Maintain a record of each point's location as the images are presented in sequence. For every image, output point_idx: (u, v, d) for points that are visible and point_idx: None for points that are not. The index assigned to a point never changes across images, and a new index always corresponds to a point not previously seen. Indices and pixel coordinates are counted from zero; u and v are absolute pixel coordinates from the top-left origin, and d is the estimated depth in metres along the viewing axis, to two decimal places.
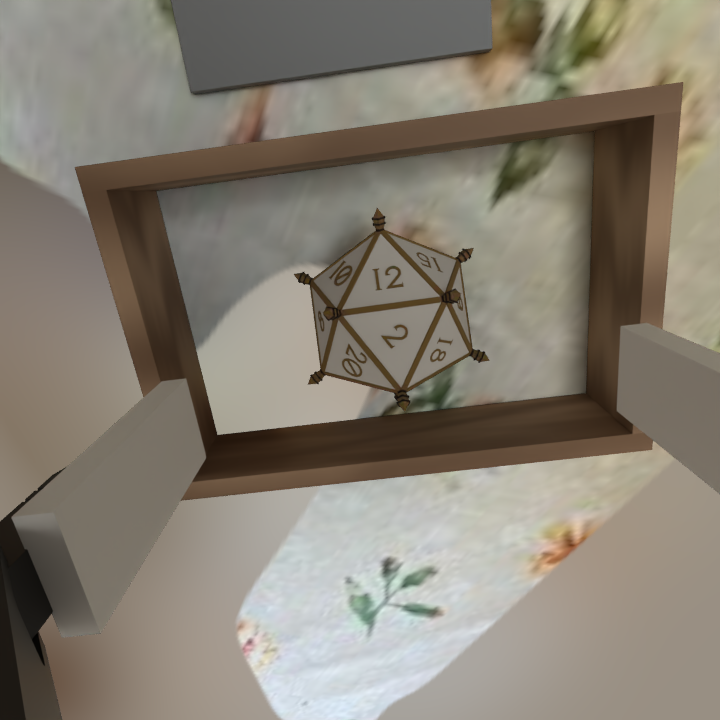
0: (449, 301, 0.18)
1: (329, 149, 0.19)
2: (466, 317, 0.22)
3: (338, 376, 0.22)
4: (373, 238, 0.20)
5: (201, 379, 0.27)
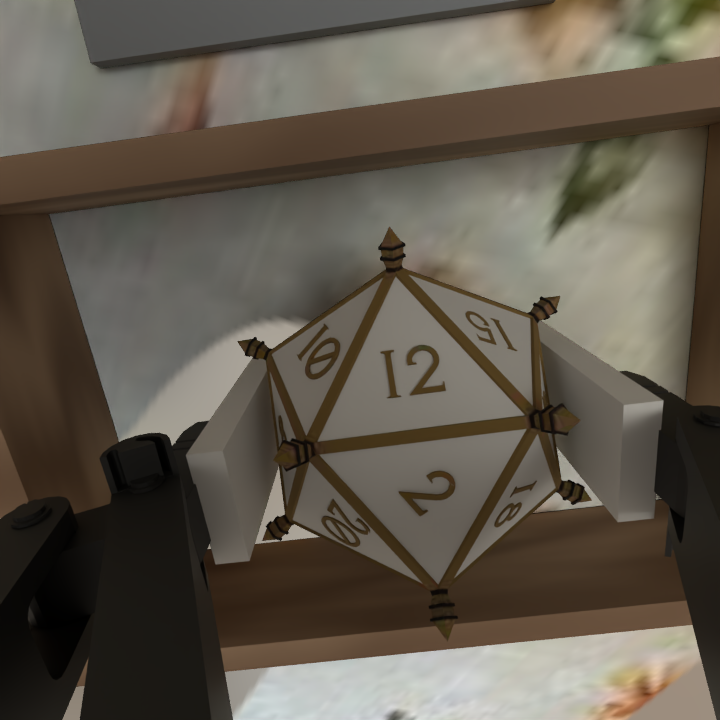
0: (549, 431, 0.08)
1: (300, 146, 0.11)
2: None
3: (316, 533, 0.12)
4: (381, 286, 0.10)
5: None
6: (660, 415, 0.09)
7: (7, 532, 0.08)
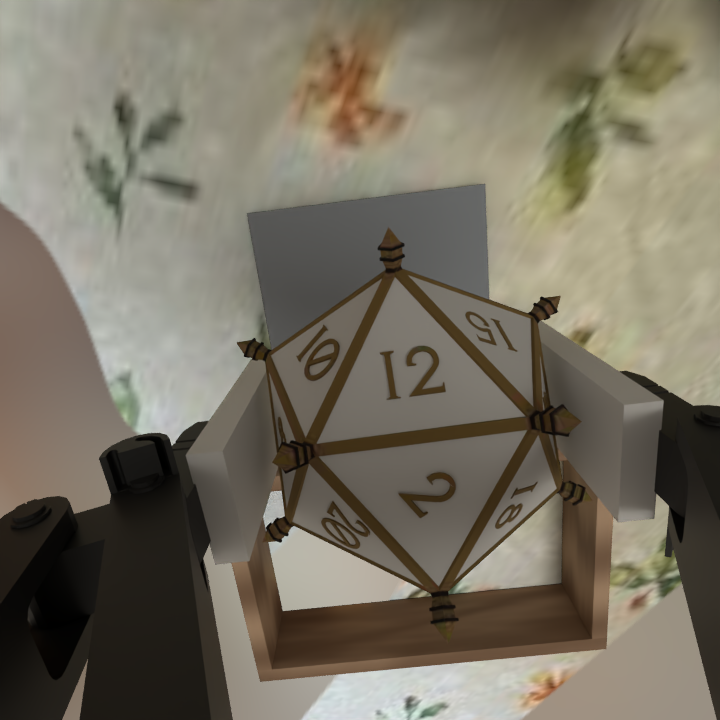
0: (550, 433, 0.08)
1: None
2: None
3: (316, 535, 0.12)
4: (381, 286, 0.10)
5: (274, 575, 0.36)
6: (660, 415, 0.09)
7: (7, 532, 0.08)
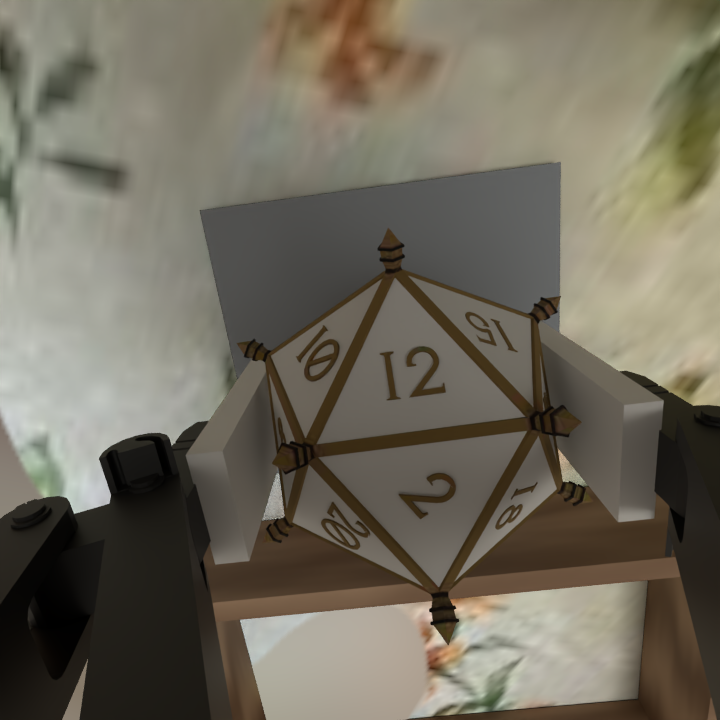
0: (550, 433, 0.08)
1: (407, 596, 0.19)
2: None
3: (316, 536, 0.12)
4: (381, 287, 0.10)
5: (256, 691, 0.27)
6: (660, 415, 0.09)
7: (7, 532, 0.08)
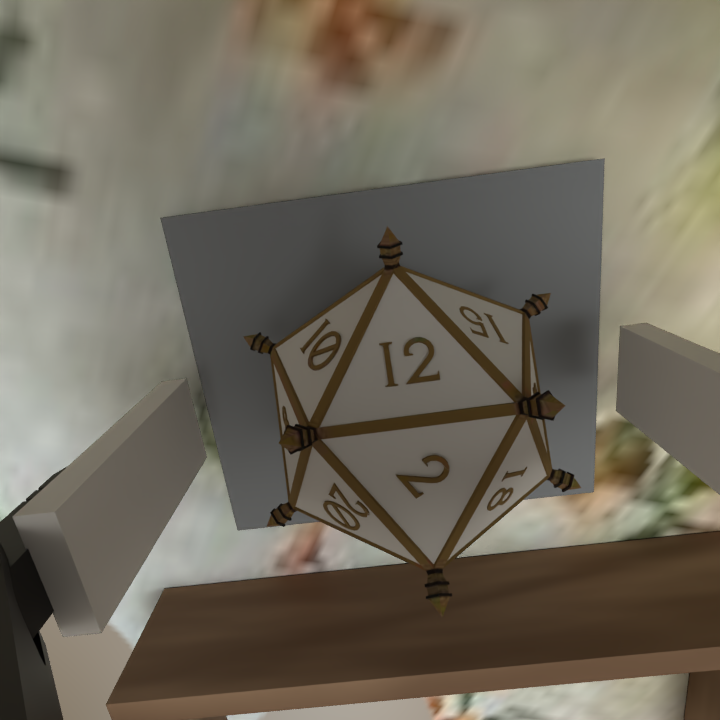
0: (537, 417, 0.09)
1: (415, 689, 0.16)
2: None
3: (318, 519, 0.12)
4: (380, 282, 0.11)
5: None
6: None
7: None
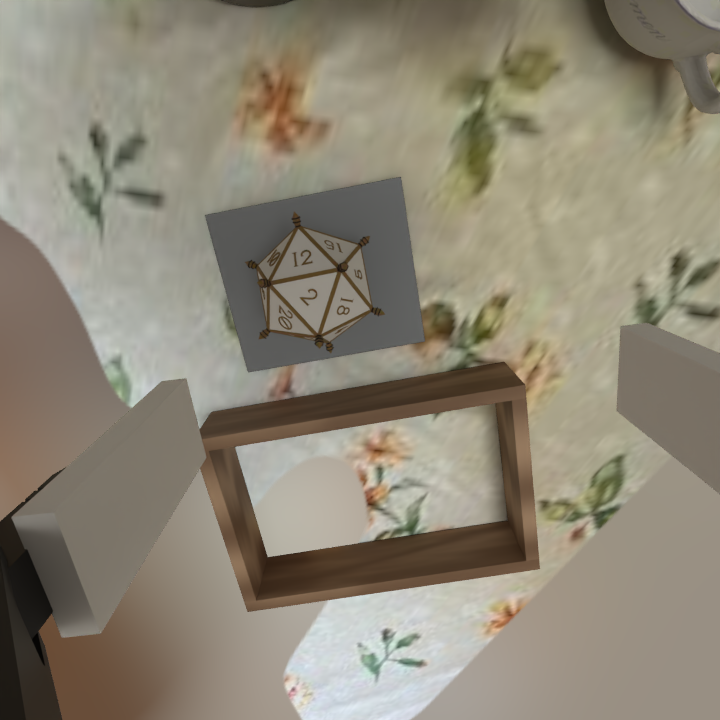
0: (341, 270, 0.27)
1: (332, 425, 0.34)
2: (366, 284, 0.31)
3: (278, 331, 0.31)
4: (293, 232, 0.29)
5: (256, 525, 0.42)
6: None
7: None
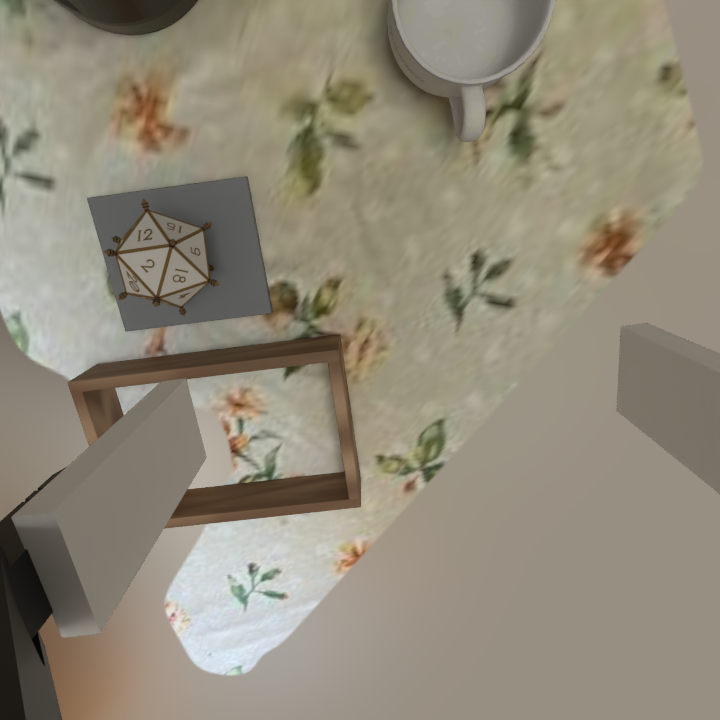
0: (170, 245, 0.35)
1: (183, 375, 0.42)
2: (205, 260, 0.39)
3: (132, 293, 0.38)
4: (142, 214, 0.37)
5: None
6: None
7: None
